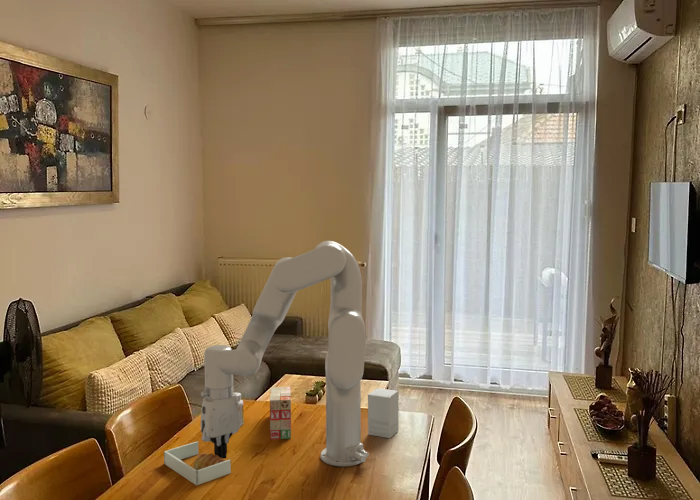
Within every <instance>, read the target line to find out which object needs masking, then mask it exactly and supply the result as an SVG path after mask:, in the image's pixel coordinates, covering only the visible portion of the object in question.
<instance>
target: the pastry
mask: <svg viewBox="0 0 700 500" xmlns="http://www.w3.org/2000/svg"><path fill="white" fill-rule="evenodd" d="M223 461H226V459H224V458H220V457H219V456H218V455H215V454H214V453H209V454H208V453H207V452H202V453H200V454H198V455H197V457H196V458H195V460H194V462H193V467H192V468H194V469H196V470H200V469H203V468H206V467H209V466H212V465H215V464H217V463H220V462H223Z"/></svg>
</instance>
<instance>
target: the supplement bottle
mask: <svg viewBox="0 0 700 500" xmlns="http://www.w3.org/2000/svg"><path fill="white" fill-rule="evenodd" d="M234 394H236V396H237V399H238V404H239V411H240V427H241V426H243V425H244V423H245V419H244V418H245V417H244V416H245V415H244V413H245V412H244V407H245V406H244V400H243V399H242V394H241V393H240V392H234Z"/></svg>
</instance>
